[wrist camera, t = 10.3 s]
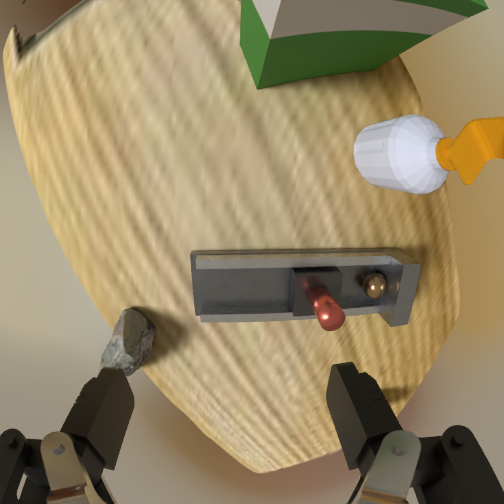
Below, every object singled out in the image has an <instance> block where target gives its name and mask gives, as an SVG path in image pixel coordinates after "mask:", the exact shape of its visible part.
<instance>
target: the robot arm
mask: <svg viewBox="0 0 504 504" xmlns="http://www.w3.org/2000/svg"><path fill="white" fill-rule="evenodd" d="M239 1H241V0H239ZM326 400H327V405H328V408H329V411H330V414H331V417H332V420H333V423H334V426H335V429H336V431H337V434H338V437H339V440H340V443H341V446H342V449H343V452H344V455H345V458H346V461H347V465H348V468H349V470H353V469H356V468H359V470H360V473H361V475H360V477H359V479H358V481H357V483H356V485H355V487H354V489H353V491H352V493H351V495H350V496H349V498H348V500H347V502H346V504H409V503H408V501H406V497H407V494H408V491H409V488H410V487H413V488H414V491H415V494H416V497H417V499H418V502H419V504H504V491H503V489H502V487H501V485H500V483H499V481H498V479H497V477H496V475H495V473H494V471H493V469H492V467H491V465H490V463H489V461H488V460H487V458H486V456H485V454H484V452H483V451H482V449H481V447H480V445H479V444H478V442H477V440H476V438H475V437H474V435H473V433H472V432H471V431H470V430H469V429H468V428H467V427H465V426H460V425H455V426H452V427H449V428H448V429H447V430H446V431H445V432H444V433H443V435H442V436H436V437H425V438H419V437H417V436H416V435H415V434H413V433H412V432H409V431H405V430H403V429H402V427H401V425H400V424H399V422H398V420H397V418H396V416H395V414H394V413H393V411H392V409H391V407H390V405H389V403H388V402H387V400H386V399H385V396H384V394H383V393H382V391H381V389H380V387H379V386H378V384H377V382H376V380H375V379H374V378H372V377H371V376H370V375H369V374H367V373H366V372H364V373H359V372H358V370H357V369H356V367H355V365H354V363H353V362H346V363H340V364H334V365H332V367H331V372H330V377H329V382H328V386H327V391H326ZM133 409H134V395H133V393H132V390H131V388H130V385H129V383H128V380H127V378H126V375H125V373H124V371H123V369H121V368H112V367H103V368H102V369H101V371H100V373H99V375H98V377H97V378H94V377H93V378H92V379H91V380H90V381H88V383H86V384H85V385H84V387H83V388H82V391H81V392H80V396H78V398H77V399H76V403H74V405H73V407H72V409H71V411H70V413H69V415H68V416H67V418H66V420H65V422H64V424H63V426H62V428H61V430H60V431H56V432H52V433H49V434H47V435H46V436H45V437H44V438H43V440H38V439H26V438H25V437H24V435H23V434H22V433H21V432H20V431H19V430H17V429H8V430H6V431H4V432H3V433H2V434H1V436H0V504H117V502H116V500H115V498H114V496H113V494H112V492H111V490H110V488H109V486H108V484H107V482H106V480H105V478H104V476H103V475H102V472H103V469H104V468H106V469H110V470H114V469H115V465H116V462H117V458H118V455H119V452H120V449H121V445H122V442H123V439H124V436H125V433H126V430H127V427H128V424H129V420H130V418H131V415H132V412H133ZM23 473H24V474H25V475H26V476H27V478H26V481H25V484H24V487H23V489H22V493H21V496H20V499H19V500H18V498H17V489H18V487H19V484H20V481H21V478H22V476H23Z"/></svg>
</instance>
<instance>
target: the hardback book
mask: <svg viewBox="0 0 504 504" xmlns="http://www.w3.org/2000/svg"><path fill="white" fill-rule="evenodd" d="M486 9H488V7H487V5H486V3H485V2H484V0H241V26H240V46H241V48H242V51H243V54H244V56H245V59H246V61H247V64H248V66H249V69H250V72H251V74H252V77H253V80H254V82H255V85H256V88H257V89H261V88H265V87H269V86H274V85H278V84H283V83H287V82H292V81H297V80H302V79H308V78H314V77H320V76H326V75H334V74H341V73H350V72H360V71H372V70H375V69H376V68H378V67H380V66H381V65H383V64H384V63H386V62H388V61H389V60H391V59H393V58H394V57H396V56H397V55H399V54H401V53H402V52H404V51H406V50H408V49H409V48H411V47H413V46H414V45H416V44H418V43H420V42H422V41H423V40H425V39H427V38H429V37H431V36H432V35H435V34H436V33H438V32H440V31H442V30H444V29H446V28H448V27H450V26H452V25H454V24H456V23H458V22H460V21H462V20H464V19H466V18H468V17H471V16H473V15H475V14H477V13H480V12H482V11H484V10H486Z"/></svg>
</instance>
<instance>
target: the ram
mask: <svg viewBox="0 0 504 504" xmlns="http://www.w3.org/2000/svg"><path fill="white" fill-rule="evenodd" d="M342 280H343V273H342V272H341V271H340V270H339V269H338V268H337V267H336V266H322V267H291V274H290V293H289V306H290V309H291V311H292V314H293V317H296V316H313V315H316V317H317V319H318V321H319V323H320V325H321V327H322V328H323V329H324V330H326V331H334V330H337V329H338V328H340V327H341V326H342V325H343V323H344V321H345V313H344V312H343V310H342V309H341V308H340V306H339V303H340V295H341V288H342Z"/></svg>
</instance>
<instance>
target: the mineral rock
mask: <svg viewBox="0 0 504 504" xmlns="http://www.w3.org/2000/svg"><path fill="white" fill-rule="evenodd" d="M154 335H155V326H154V325H153V324H151V323H150V322H149V321H148V320H147V319H146V317H145V316H144V315H143V314H141V313H140V312H138V311H136V310H133V309H130V308H129V309H125V310H123V312H122V314H121V316H120V318H119V320H118V322H117V324H116V325H115V328H114V331H113V335H112V338H111V340H110V343H109V344H108V345H107V347H106V349H105V351H104V353H103V354H102V358H101V363H100V369H99V371H101V369H102V368H103V367H112V368H121V369H123V371H124V373H125V375H126V376H130V375H131V374H133V373H134V372H135V371H136V370H137V369H139V368H140V367H141V366H142V365H143V364H144V363H145V362H146V360H147V359H148V357H150V356H151V354H152V341H153V338H154Z"/></svg>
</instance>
